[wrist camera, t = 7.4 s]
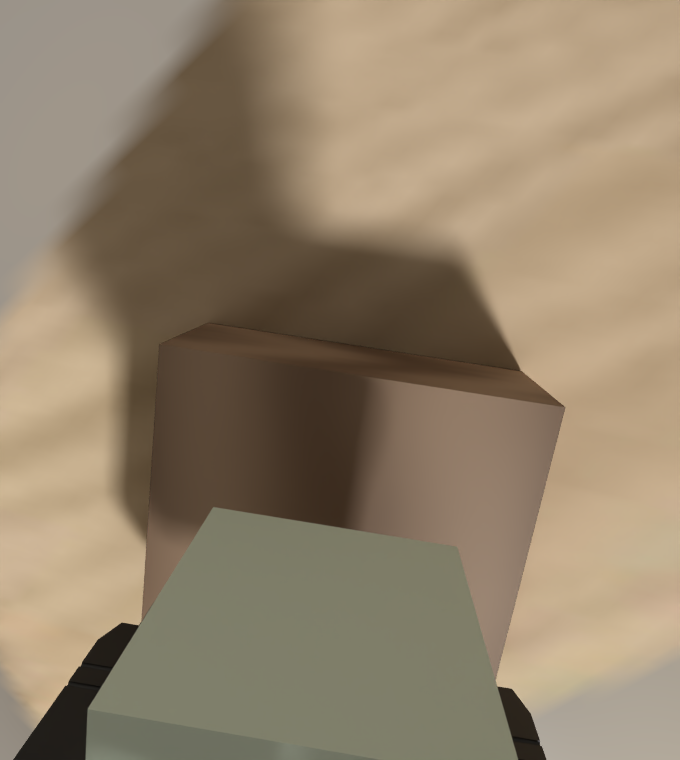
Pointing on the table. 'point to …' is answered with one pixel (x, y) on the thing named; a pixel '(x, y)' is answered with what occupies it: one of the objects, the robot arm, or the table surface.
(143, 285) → the table surface
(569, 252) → the table surface
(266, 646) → the sage block
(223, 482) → the walnut base
